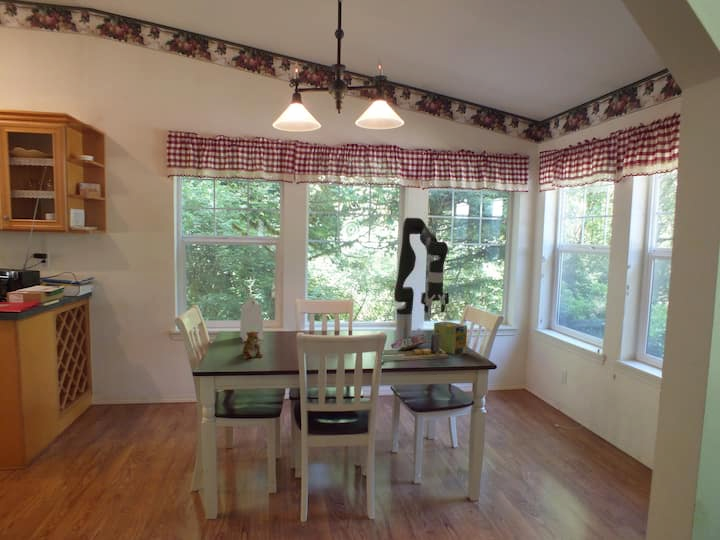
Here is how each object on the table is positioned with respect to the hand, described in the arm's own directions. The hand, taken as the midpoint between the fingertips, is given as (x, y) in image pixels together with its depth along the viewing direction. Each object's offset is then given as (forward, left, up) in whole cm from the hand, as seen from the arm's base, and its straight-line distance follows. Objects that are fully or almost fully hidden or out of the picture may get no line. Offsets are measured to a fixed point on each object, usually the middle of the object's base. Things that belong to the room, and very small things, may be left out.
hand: (434, 312), depth 228 cm
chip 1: (-6, -6, -24) cm, 26 cm away
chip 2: (-6, -1, -24) cm, 25 cm away
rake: (-6, +4, -24) cm, 25 cm away
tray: (-6, -22, -25) cm, 34 cm away
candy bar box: (-21, 0, -20) cm, 29 cm away
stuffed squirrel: (-23, -91, -25) cm, 98 cm away
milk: (-60, -91, -25) cm, 113 cm away
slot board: (-6, -3, -25) cm, 26 cm away
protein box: (-14, +16, -25) cm, 33 cm away
